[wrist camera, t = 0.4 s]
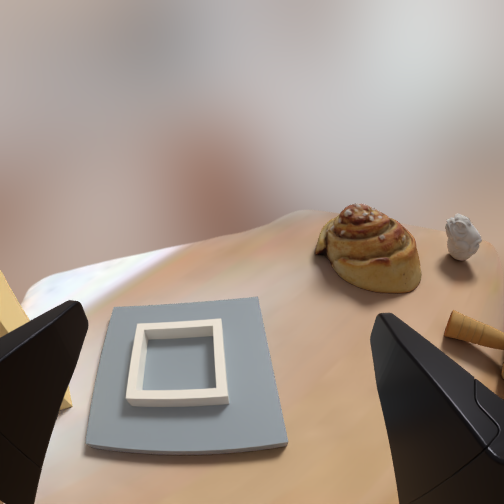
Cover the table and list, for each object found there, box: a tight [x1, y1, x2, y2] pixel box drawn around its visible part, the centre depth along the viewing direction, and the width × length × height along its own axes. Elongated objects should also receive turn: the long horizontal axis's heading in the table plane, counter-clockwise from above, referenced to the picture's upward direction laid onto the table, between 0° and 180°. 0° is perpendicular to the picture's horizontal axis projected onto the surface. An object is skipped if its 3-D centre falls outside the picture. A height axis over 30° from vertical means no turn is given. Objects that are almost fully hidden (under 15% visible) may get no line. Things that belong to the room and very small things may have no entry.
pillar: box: [0, 270, 72, 410], centre depth 17 cm, size 4×4×13 cm
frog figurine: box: [445, 214, 482, 261], centre depth 36 cm, size 6×7×7 cm
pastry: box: [315, 204, 421, 293], centre depth 36 cm, size 13×15×8 cm
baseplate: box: [86, 297, 288, 455], centre depth 23 cm, size 16×16×3 cm
